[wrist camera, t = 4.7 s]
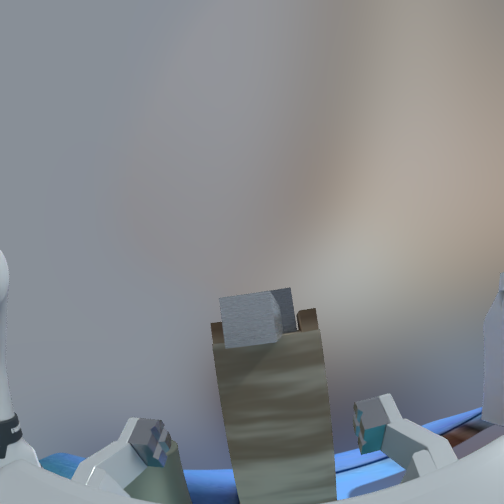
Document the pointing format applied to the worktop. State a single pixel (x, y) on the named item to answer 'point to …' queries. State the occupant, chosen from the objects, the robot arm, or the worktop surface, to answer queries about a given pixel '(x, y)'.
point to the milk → (494, 360)
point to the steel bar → (257, 317)
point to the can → (162, 482)
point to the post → (278, 416)
